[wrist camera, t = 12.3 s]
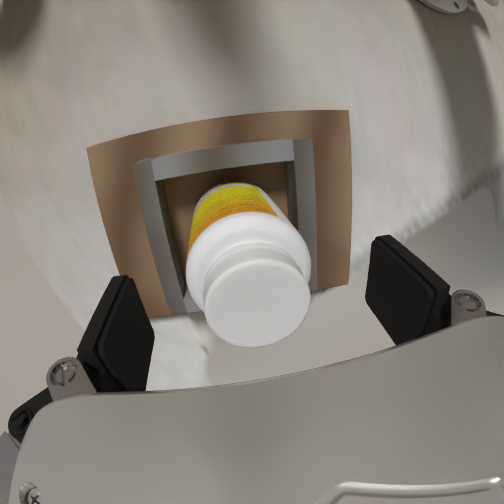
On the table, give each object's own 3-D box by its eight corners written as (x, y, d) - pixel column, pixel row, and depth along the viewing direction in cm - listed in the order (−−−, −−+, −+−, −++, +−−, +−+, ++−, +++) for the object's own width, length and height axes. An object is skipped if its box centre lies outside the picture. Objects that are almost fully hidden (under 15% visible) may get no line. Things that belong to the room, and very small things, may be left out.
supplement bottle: (177, 225, 19) (151, 321, 10) (229, 161, 17) (251, 201, 8) (239, 269, 21) (263, 378, 12) (290, 213, 19) (358, 292, 10)
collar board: (342, 110, 18) (366, 109, 15) (343, 278, 24) (361, 300, 21) (92, 146, 16) (70, 152, 13) (139, 311, 22) (131, 338, 19)
